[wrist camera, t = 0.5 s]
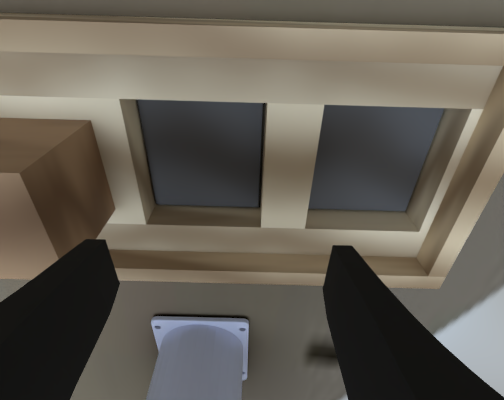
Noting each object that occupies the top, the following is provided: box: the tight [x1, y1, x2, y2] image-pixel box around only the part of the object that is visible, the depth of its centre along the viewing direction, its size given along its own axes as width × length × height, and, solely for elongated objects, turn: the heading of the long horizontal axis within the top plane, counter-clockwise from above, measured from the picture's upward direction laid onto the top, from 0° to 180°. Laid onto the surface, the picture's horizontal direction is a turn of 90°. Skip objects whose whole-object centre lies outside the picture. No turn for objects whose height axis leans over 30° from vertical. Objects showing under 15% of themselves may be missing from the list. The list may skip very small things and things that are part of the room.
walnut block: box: [0, 118, 116, 279], centre depth 13 cm, size 5×5×5 cm
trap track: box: [0, 13, 504, 289], centre depth 15 cm, size 13×32×4 cm, turn 89°
